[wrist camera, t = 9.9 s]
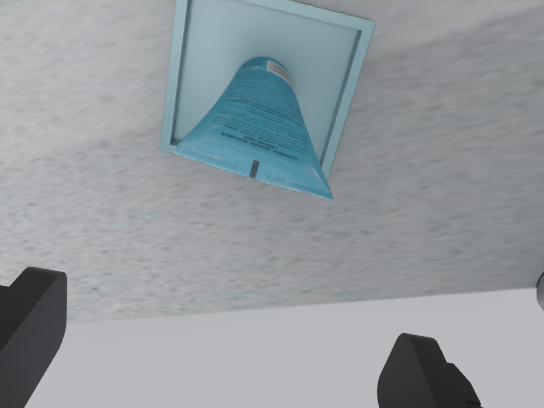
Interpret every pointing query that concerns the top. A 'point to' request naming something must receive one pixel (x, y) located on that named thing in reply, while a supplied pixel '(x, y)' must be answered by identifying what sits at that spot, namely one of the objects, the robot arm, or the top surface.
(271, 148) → the tube
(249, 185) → the top surface
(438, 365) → the robot arm
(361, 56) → the tray
